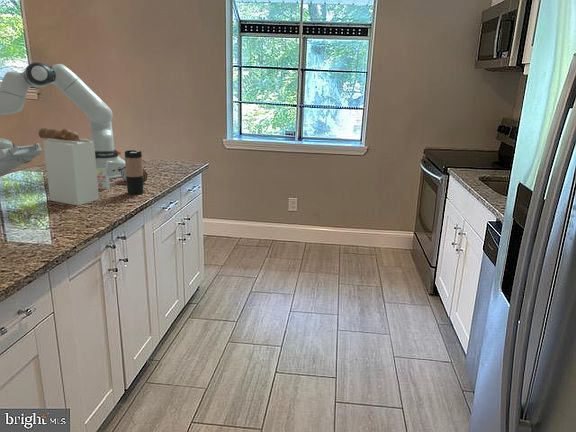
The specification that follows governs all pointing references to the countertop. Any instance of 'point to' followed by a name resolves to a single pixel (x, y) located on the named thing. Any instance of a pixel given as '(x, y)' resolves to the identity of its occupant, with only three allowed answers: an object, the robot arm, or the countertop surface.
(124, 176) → the tin
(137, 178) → the travel mug
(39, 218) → the countertop surface
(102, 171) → the small grey carton
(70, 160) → the gray stand
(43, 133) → the wooden turned rod
